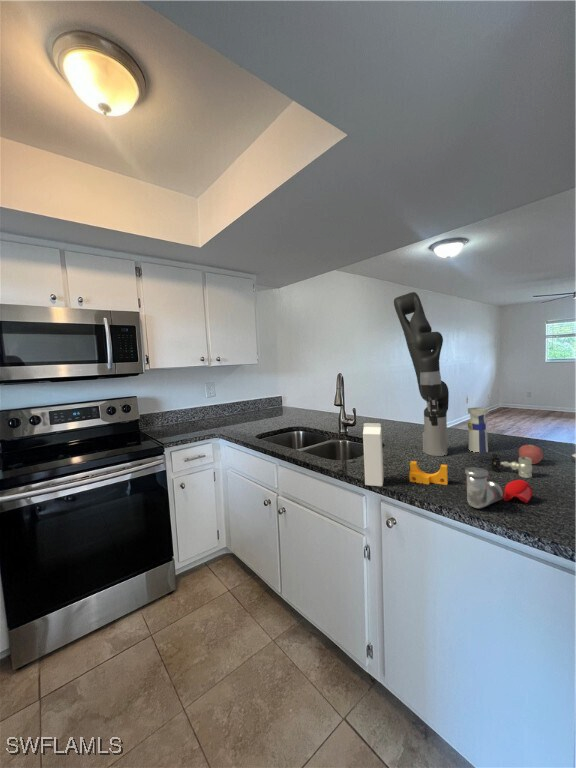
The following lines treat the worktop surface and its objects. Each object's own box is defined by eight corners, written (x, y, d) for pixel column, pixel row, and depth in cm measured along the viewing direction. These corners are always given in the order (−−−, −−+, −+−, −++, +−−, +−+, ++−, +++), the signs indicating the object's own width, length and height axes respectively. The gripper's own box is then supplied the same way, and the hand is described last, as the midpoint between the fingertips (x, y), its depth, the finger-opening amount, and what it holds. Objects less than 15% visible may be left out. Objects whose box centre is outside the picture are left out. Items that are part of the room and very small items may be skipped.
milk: (367, 479, 118) (364, 421, 116) (383, 480, 115) (381, 421, 114) (365, 485, 112) (362, 424, 110) (382, 486, 110) (380, 425, 108)
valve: (534, 474, 112) (495, 467, 121) (534, 456, 112) (494, 451, 120) (530, 480, 108) (490, 472, 116) (530, 461, 107) (490, 455, 116)
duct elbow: (481, 514, 88) (480, 476, 87) (461, 506, 93) (460, 470, 92) (503, 503, 93) (503, 467, 92) (483, 496, 98) (483, 462, 97)
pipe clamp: (409, 482, 113) (409, 464, 112) (411, 477, 116) (411, 461, 116) (446, 487, 107) (446, 469, 106) (447, 482, 110) (447, 464, 110)
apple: (515, 459, 128) (515, 440, 127) (537, 460, 125) (537, 441, 125) (522, 466, 121) (522, 445, 120) (545, 467, 118) (546, 446, 118)
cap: (523, 484, 98) (504, 474, 99) (537, 485, 92) (518, 474, 93) (514, 507, 96) (496, 497, 97) (529, 510, 90) (509, 499, 91)
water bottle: (474, 454, 138) (473, 398, 136) (464, 448, 146) (463, 395, 144) (493, 453, 137) (492, 396, 136) (481, 447, 146) (481, 394, 144)
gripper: (419, 382, 131) (421, 420, 132) (421, 385, 118) (424, 427, 119) (438, 380, 129) (441, 419, 130) (443, 383, 115) (446, 427, 116)
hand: (433, 423), depth 124 cm, fingers open, 8 cm apart
